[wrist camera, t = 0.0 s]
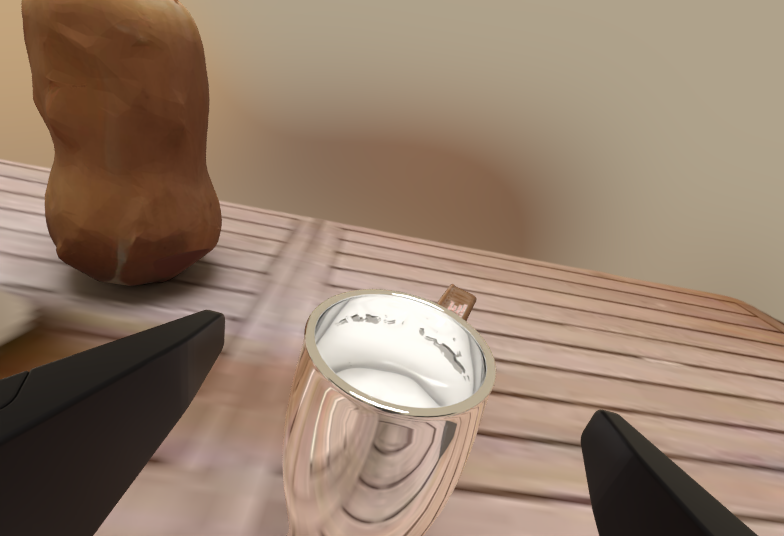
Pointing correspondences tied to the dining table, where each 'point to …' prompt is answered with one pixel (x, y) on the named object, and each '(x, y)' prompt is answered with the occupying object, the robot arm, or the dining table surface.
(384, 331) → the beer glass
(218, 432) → the dining table surface
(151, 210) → the butternut squash
